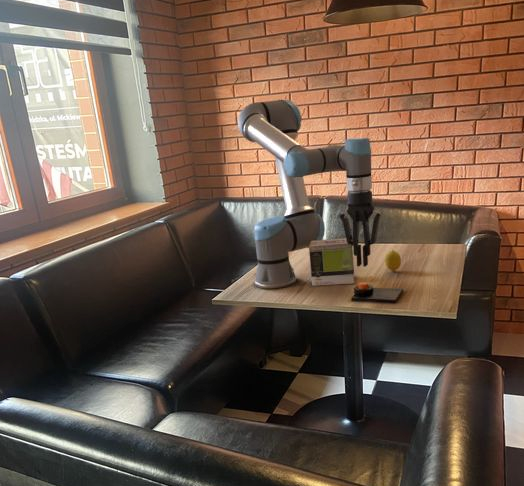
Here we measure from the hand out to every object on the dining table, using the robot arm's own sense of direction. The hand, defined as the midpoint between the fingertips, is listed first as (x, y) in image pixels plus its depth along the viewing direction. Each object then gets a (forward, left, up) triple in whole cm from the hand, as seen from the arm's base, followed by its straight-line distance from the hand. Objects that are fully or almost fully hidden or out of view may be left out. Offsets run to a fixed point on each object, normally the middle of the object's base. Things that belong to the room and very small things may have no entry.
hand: (362, 265), depth 171 cm
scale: (+3, +3, -10) cm, 11 cm away
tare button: (0, 0, -8) cm, 8 cm away
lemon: (-18, +22, -11) cm, 30 cm away
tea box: (-21, -1, -11) cm, 23 cm away
